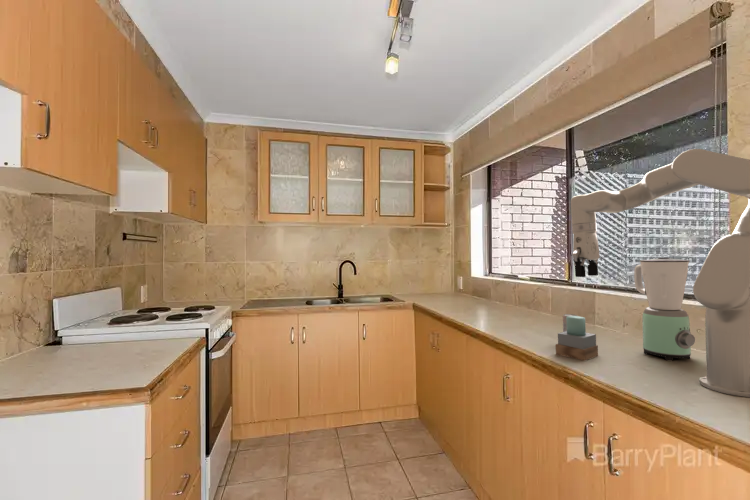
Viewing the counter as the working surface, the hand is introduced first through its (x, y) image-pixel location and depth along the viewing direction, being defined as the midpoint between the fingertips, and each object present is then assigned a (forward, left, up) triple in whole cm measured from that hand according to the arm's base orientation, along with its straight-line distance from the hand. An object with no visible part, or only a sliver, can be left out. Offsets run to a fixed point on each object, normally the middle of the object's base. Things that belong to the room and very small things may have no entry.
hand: (586, 276), depth 125 cm
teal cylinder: (+4, +2, -21) cm, 22 cm away
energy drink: (+11, -10, -29) cm, 33 cm away
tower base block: (+3, +2, -29) cm, 29 cm away
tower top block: (+3, +1, -25) cm, 25 cm away
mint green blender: (-16, -21, -29) cm, 39 cm away
